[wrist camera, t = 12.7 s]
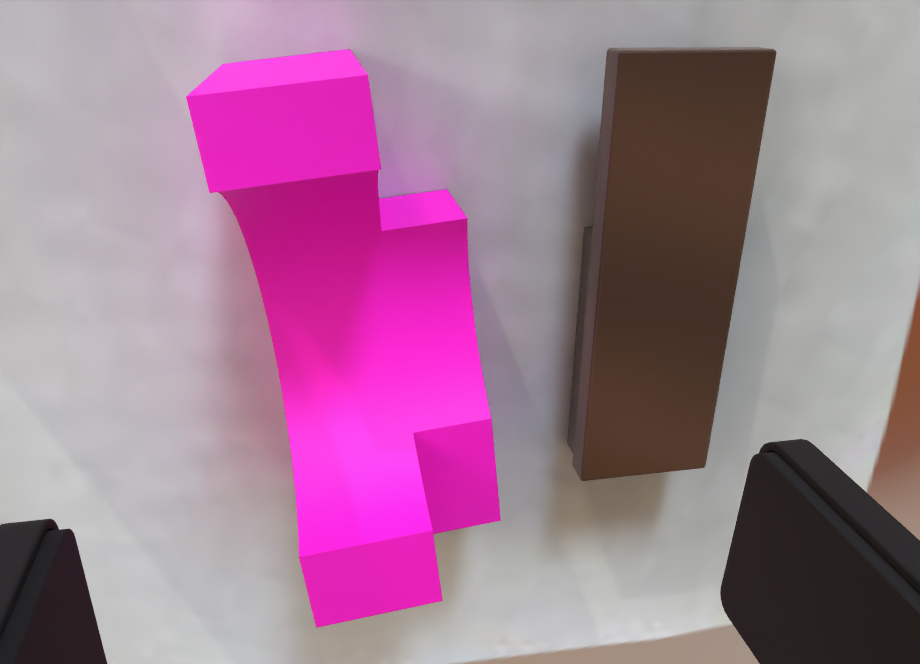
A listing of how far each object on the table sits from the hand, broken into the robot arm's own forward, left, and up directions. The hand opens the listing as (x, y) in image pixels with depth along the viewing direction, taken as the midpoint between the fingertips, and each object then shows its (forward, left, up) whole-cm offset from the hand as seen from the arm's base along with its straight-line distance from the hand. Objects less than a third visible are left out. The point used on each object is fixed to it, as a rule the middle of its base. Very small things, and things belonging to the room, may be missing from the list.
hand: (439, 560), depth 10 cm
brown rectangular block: (+10, -2, -16) cm, 19 cm away
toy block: (0, -2, -16) cm, 17 cm away
